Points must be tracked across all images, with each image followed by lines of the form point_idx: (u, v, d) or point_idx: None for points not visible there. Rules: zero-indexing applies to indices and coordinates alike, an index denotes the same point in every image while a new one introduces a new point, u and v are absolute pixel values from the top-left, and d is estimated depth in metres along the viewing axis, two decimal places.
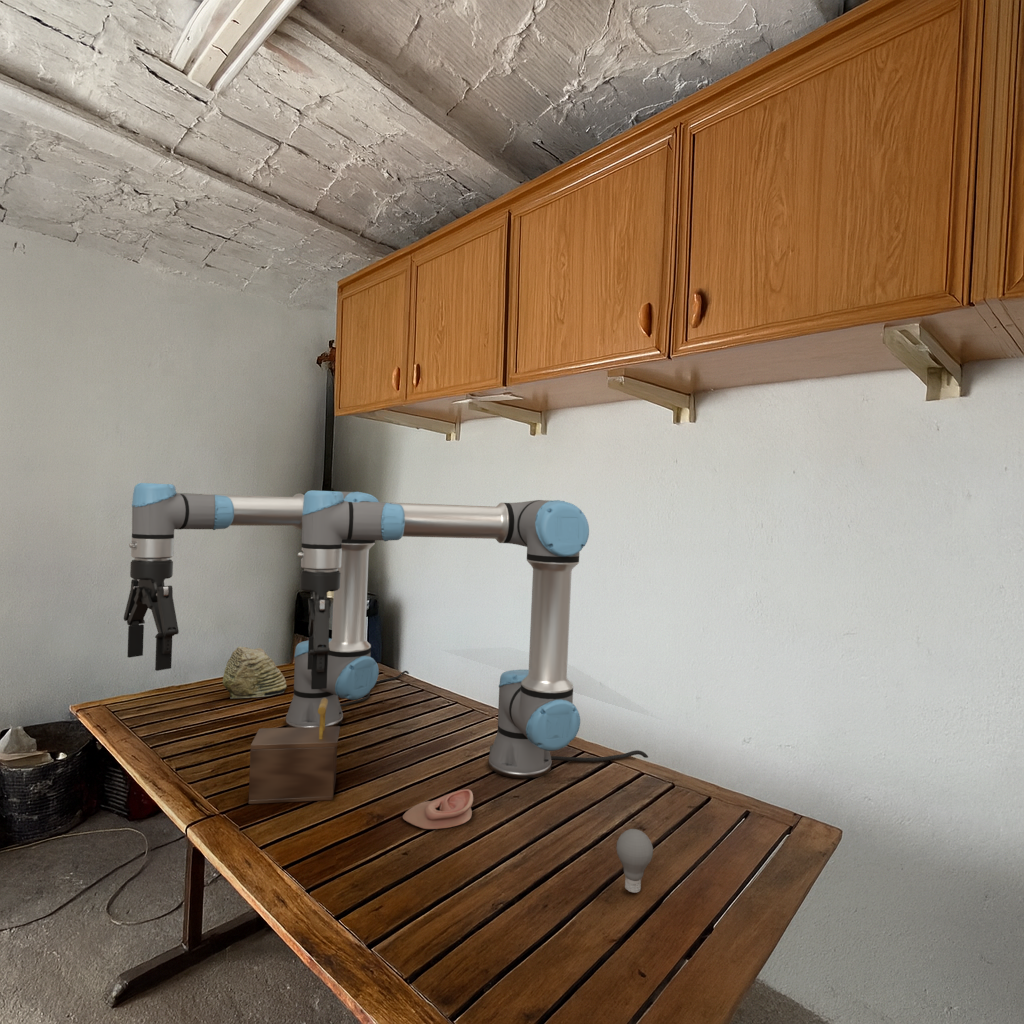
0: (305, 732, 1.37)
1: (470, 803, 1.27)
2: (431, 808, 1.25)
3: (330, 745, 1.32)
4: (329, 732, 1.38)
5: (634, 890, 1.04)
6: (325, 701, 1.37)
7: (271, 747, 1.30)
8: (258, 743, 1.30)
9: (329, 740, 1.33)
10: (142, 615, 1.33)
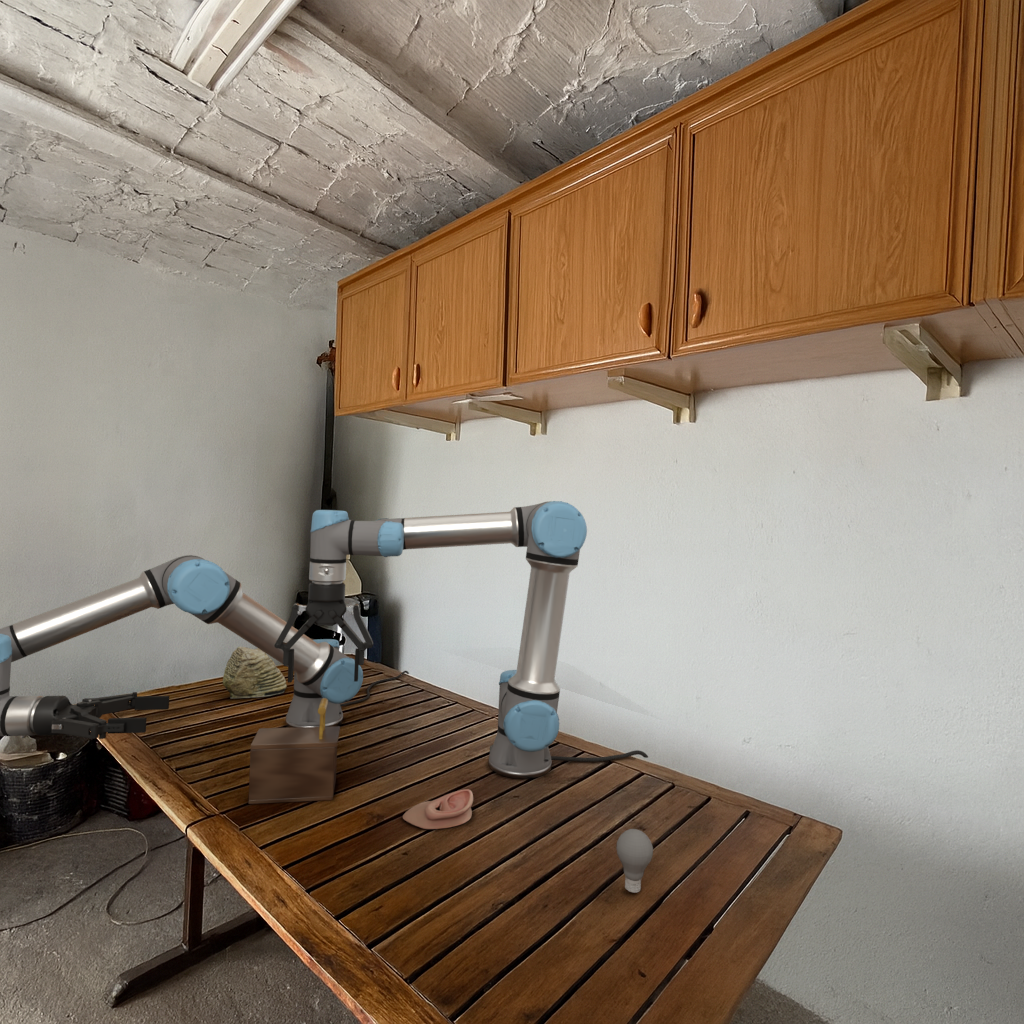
0: (305, 732, 1.37)
1: (470, 803, 1.27)
2: (431, 808, 1.25)
3: (330, 745, 1.32)
4: (329, 732, 1.38)
5: (634, 890, 1.04)
6: (325, 701, 1.37)
7: (271, 747, 1.30)
8: (258, 743, 1.30)
9: (329, 740, 1.33)
10: (121, 701, 1.33)
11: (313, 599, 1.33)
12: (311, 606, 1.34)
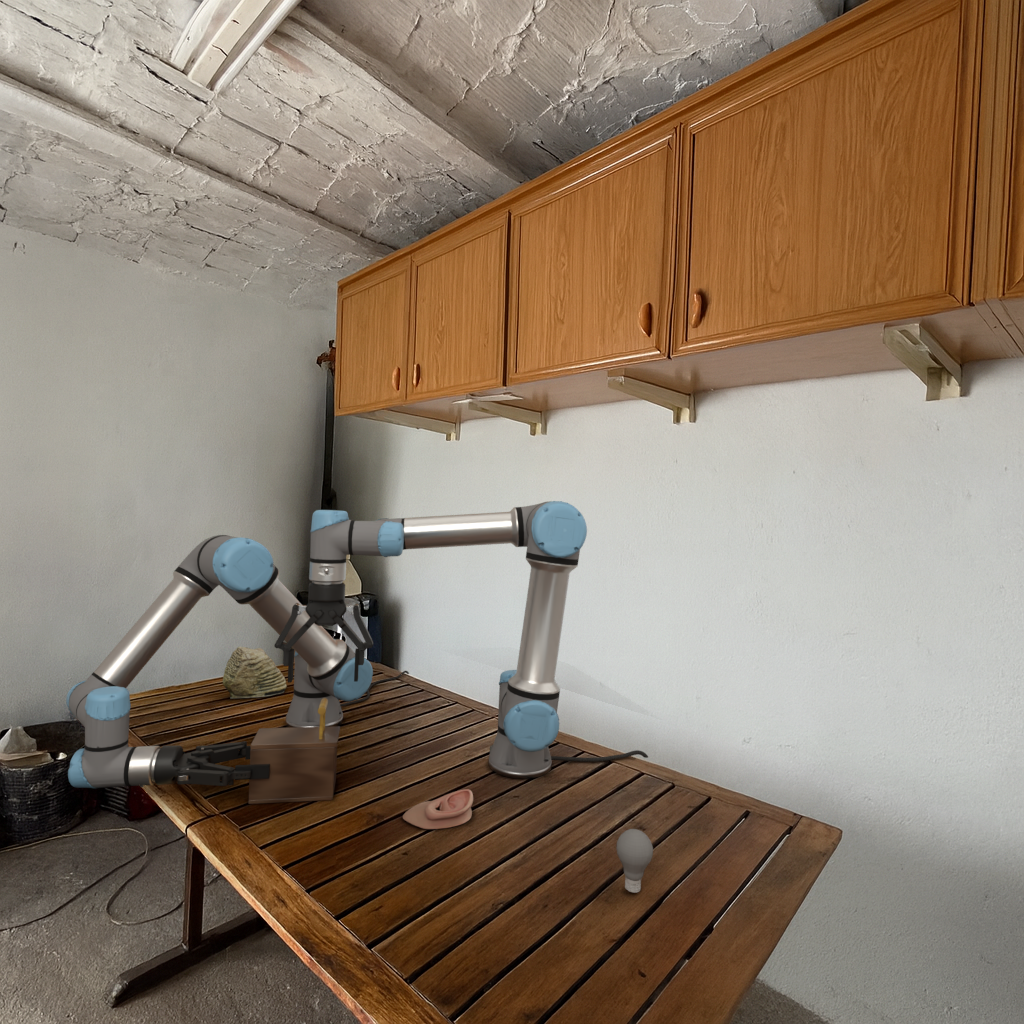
0: (305, 732, 1.37)
1: (470, 803, 1.27)
2: (431, 808, 1.25)
3: (330, 745, 1.32)
4: (329, 732, 1.38)
5: (634, 890, 1.04)
6: (325, 701, 1.37)
7: (271, 747, 1.30)
8: (258, 743, 1.30)
9: (329, 740, 1.33)
10: (232, 751, 1.37)
11: (313, 599, 1.33)
12: (311, 606, 1.34)
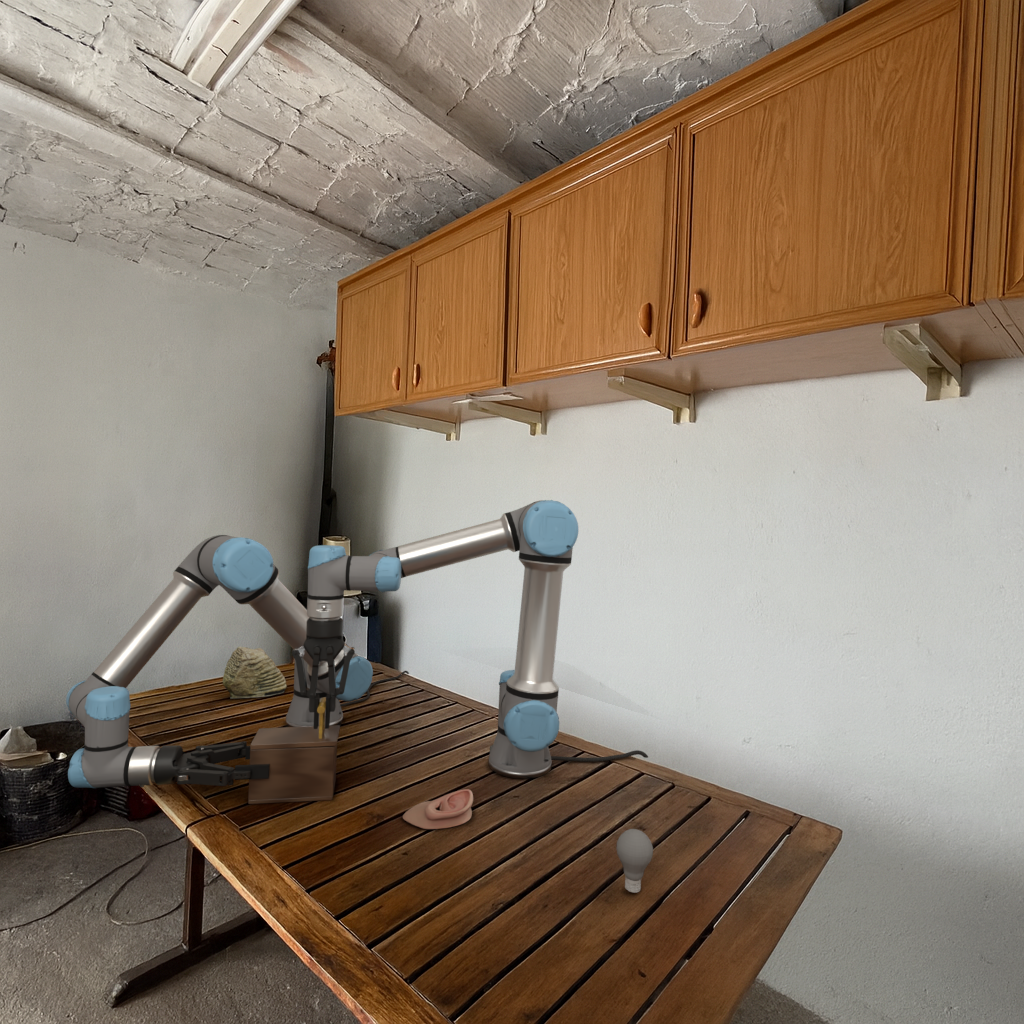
0: (305, 731, 1.37)
1: (470, 803, 1.27)
2: (431, 808, 1.25)
3: (330, 744, 1.32)
4: (329, 731, 1.38)
5: (634, 890, 1.04)
6: (324, 700, 1.37)
7: (271, 747, 1.30)
8: (258, 743, 1.30)
9: (328, 739, 1.33)
10: (232, 751, 1.37)
11: (311, 636, 1.33)
12: (307, 643, 1.34)
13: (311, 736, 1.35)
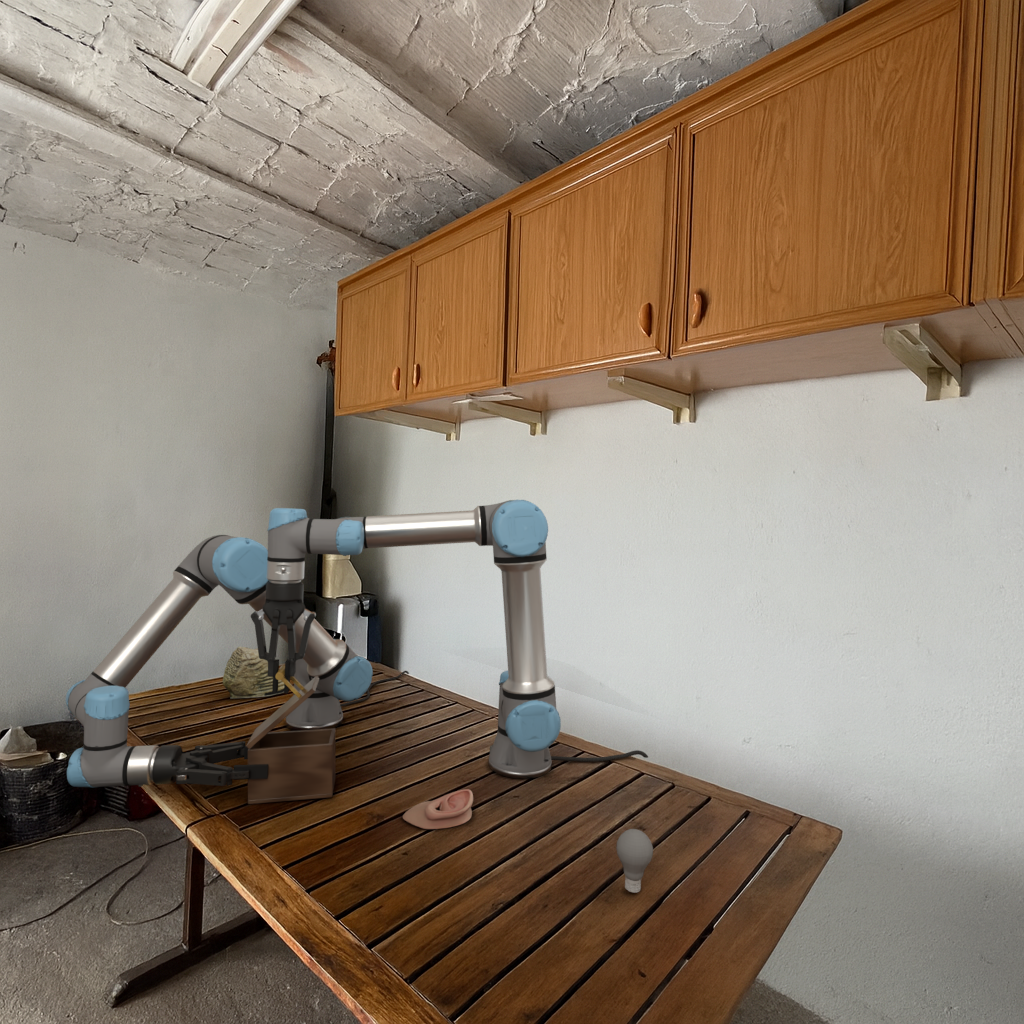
0: (289, 701, 1.36)
1: (470, 803, 1.27)
2: (431, 808, 1.25)
3: (308, 694, 1.31)
4: (307, 686, 1.36)
5: (634, 890, 1.04)
6: (281, 667, 1.35)
7: (263, 734, 1.29)
8: (252, 739, 1.30)
9: (305, 692, 1.32)
10: (231, 751, 1.37)
11: (270, 598, 1.31)
12: (266, 606, 1.32)
13: (293, 701, 1.34)
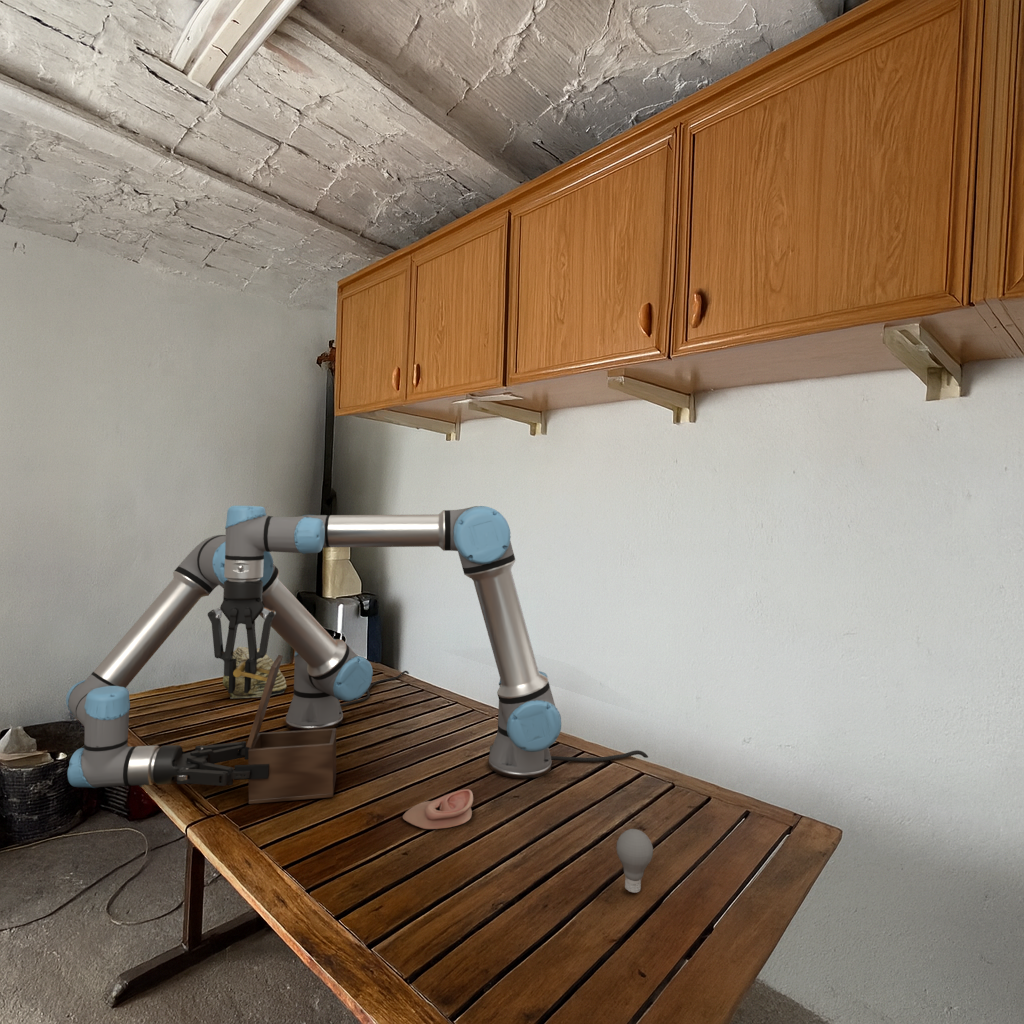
0: None
1: (470, 803, 1.27)
2: (431, 808, 1.25)
3: (272, 673, 1.29)
4: None
5: (634, 890, 1.04)
6: None
7: (255, 728, 1.29)
8: (248, 739, 1.30)
9: None
10: (231, 751, 1.37)
11: (227, 597, 1.29)
12: (224, 604, 1.31)
13: None
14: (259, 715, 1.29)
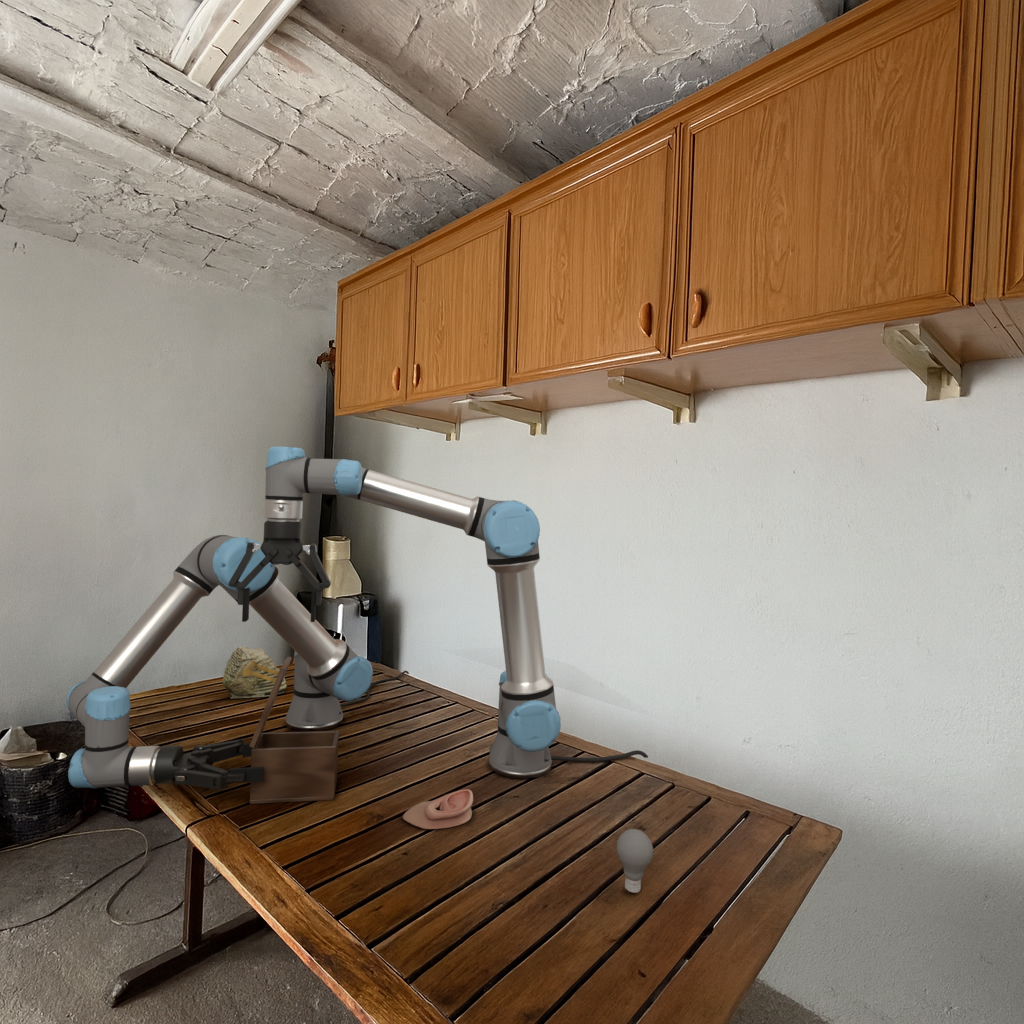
0: None
1: (470, 803, 1.27)
2: (431, 808, 1.25)
3: (281, 674, 1.30)
4: None
5: (634, 890, 1.04)
6: (248, 664, 1.34)
7: (259, 728, 1.29)
8: None
9: None
10: (230, 749, 1.38)
11: (268, 536, 1.30)
12: (266, 544, 1.32)
13: None
14: (265, 716, 1.29)
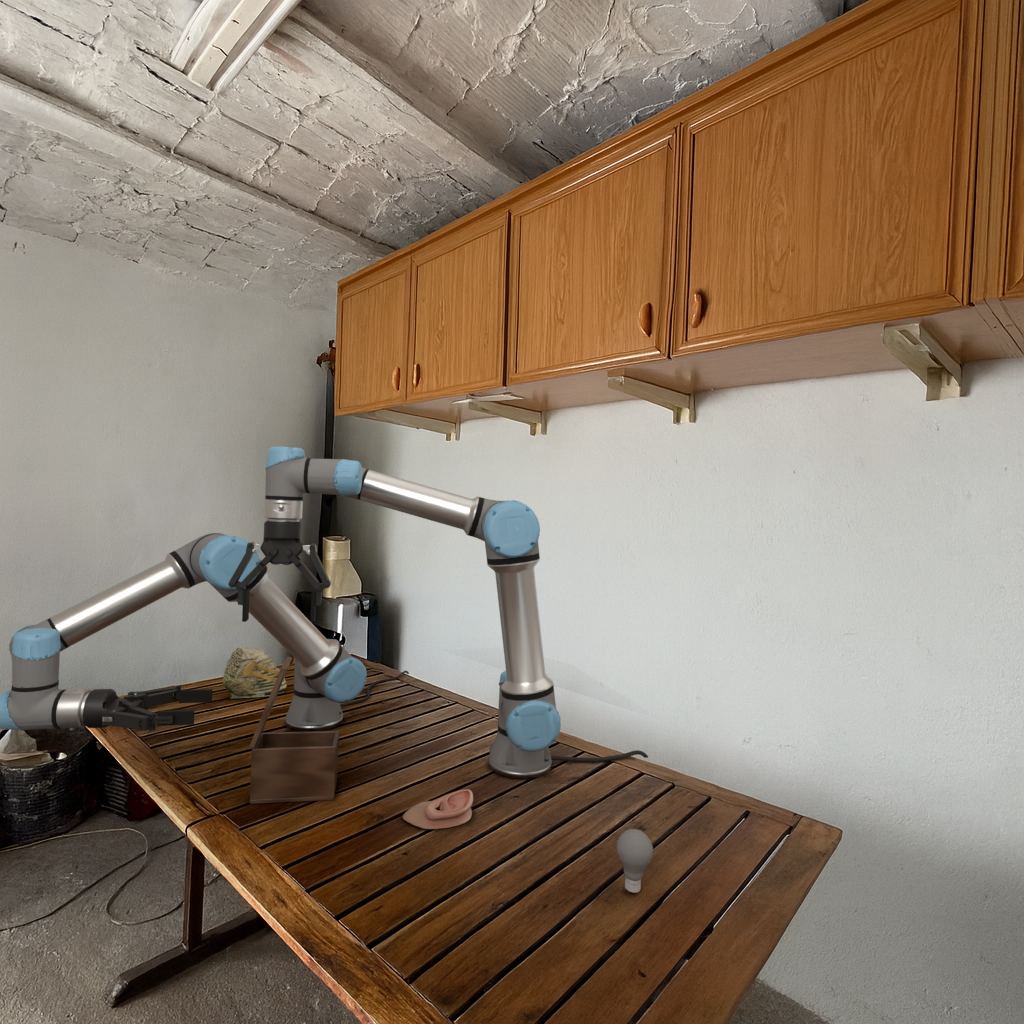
0: None
1: (470, 803, 1.27)
2: (431, 808, 1.25)
3: (281, 674, 1.30)
4: None
5: (634, 890, 1.04)
6: (248, 663, 1.34)
7: (260, 728, 1.29)
8: None
9: None
10: (166, 695, 1.35)
11: (268, 536, 1.30)
12: (266, 544, 1.32)
13: None
14: (265, 715, 1.30)
